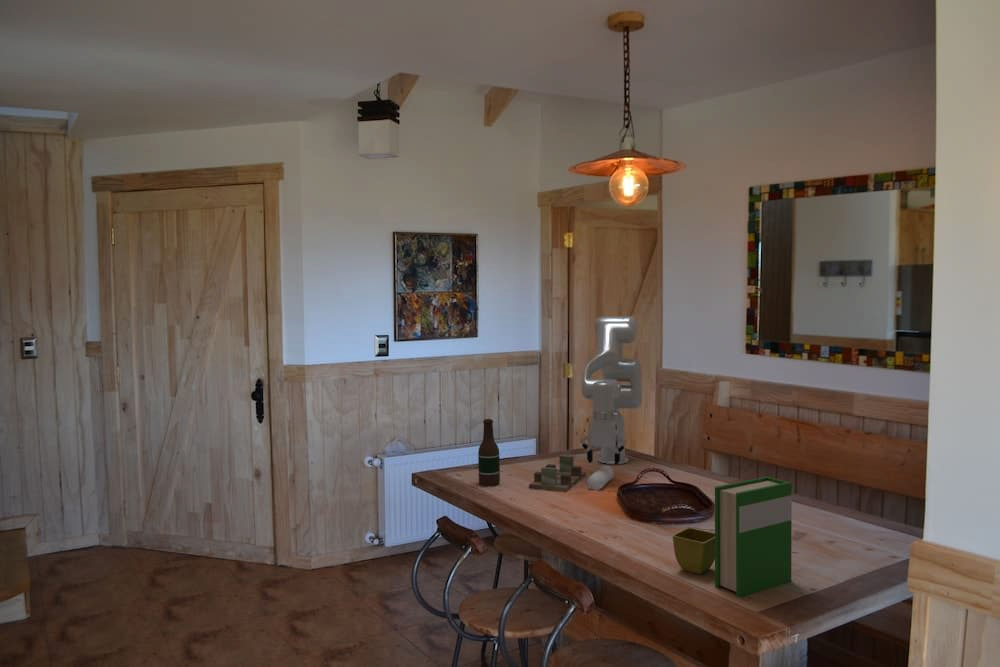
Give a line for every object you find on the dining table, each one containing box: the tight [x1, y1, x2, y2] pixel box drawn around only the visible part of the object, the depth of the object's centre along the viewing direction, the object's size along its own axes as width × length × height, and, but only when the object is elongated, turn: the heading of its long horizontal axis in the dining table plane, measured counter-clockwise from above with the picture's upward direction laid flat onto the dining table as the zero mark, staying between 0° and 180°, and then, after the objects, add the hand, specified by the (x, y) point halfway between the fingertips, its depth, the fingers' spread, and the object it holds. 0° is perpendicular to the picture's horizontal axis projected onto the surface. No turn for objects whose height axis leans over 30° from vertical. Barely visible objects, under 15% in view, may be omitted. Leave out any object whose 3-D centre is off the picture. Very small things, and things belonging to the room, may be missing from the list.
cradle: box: [528, 454, 587, 493], centre depth 281 cm, size 25×14×8 cm, turn 158°
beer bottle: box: [477, 418, 501, 487], centre depth 279 cm, size 8×8×24 cm
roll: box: [586, 464, 615, 491], centre depth 276 cm, size 16×6×6 cm, turn 158°
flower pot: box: [672, 527, 715, 575], centre depth 190 cm, size 9×9×9 cm
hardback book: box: [714, 476, 793, 599], centre depth 180 cm, size 18×7×24 cm, turn 120°
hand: (603, 463), depth 274 cm, fingers open, 9 cm apart
